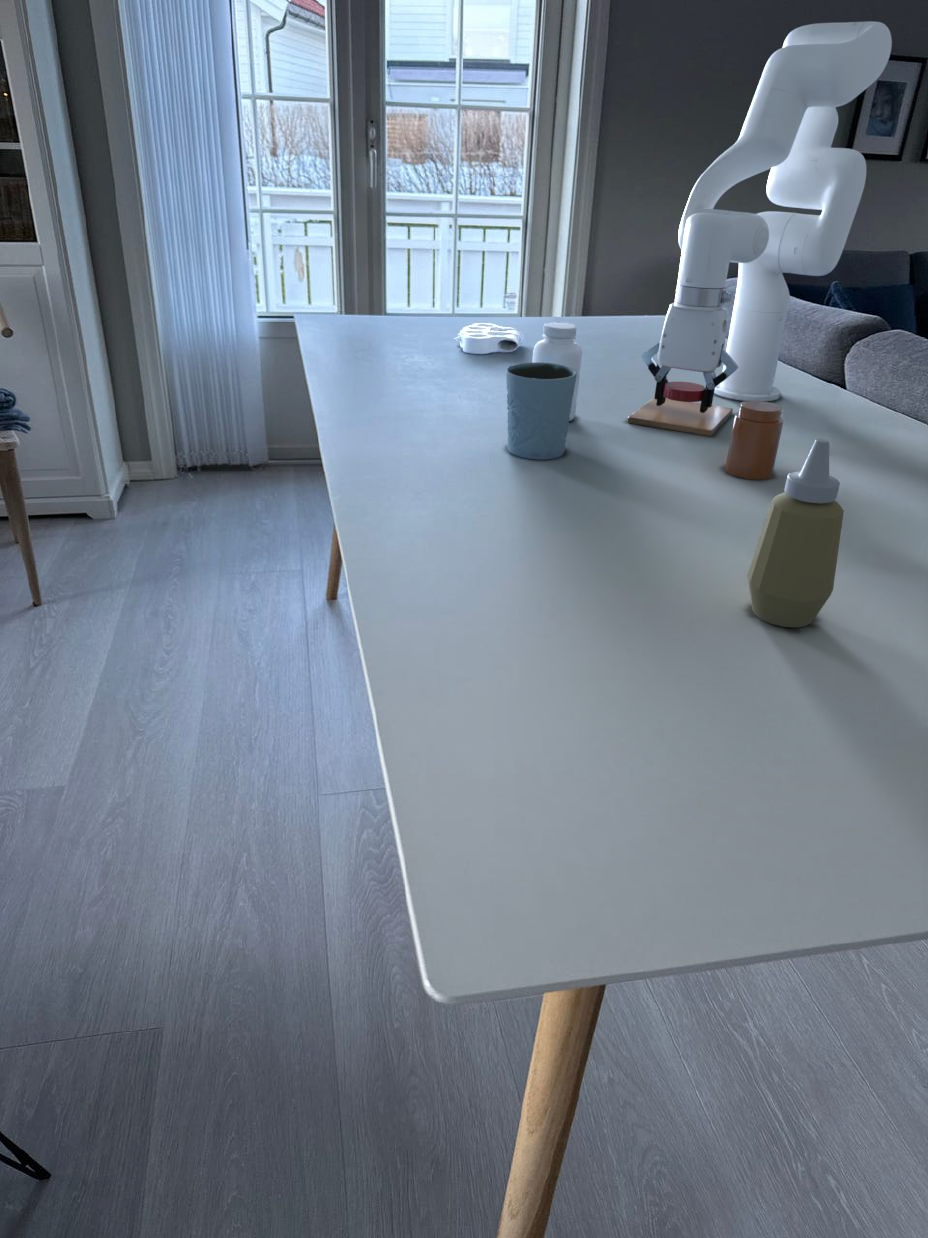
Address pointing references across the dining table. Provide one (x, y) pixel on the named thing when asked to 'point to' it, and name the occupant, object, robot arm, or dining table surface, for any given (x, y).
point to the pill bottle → (560, 351)
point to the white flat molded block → (488, 338)
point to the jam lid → (683, 391)
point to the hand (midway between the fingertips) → (682, 406)
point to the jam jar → (754, 440)
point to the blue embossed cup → (539, 408)
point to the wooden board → (681, 416)
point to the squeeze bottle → (798, 546)
